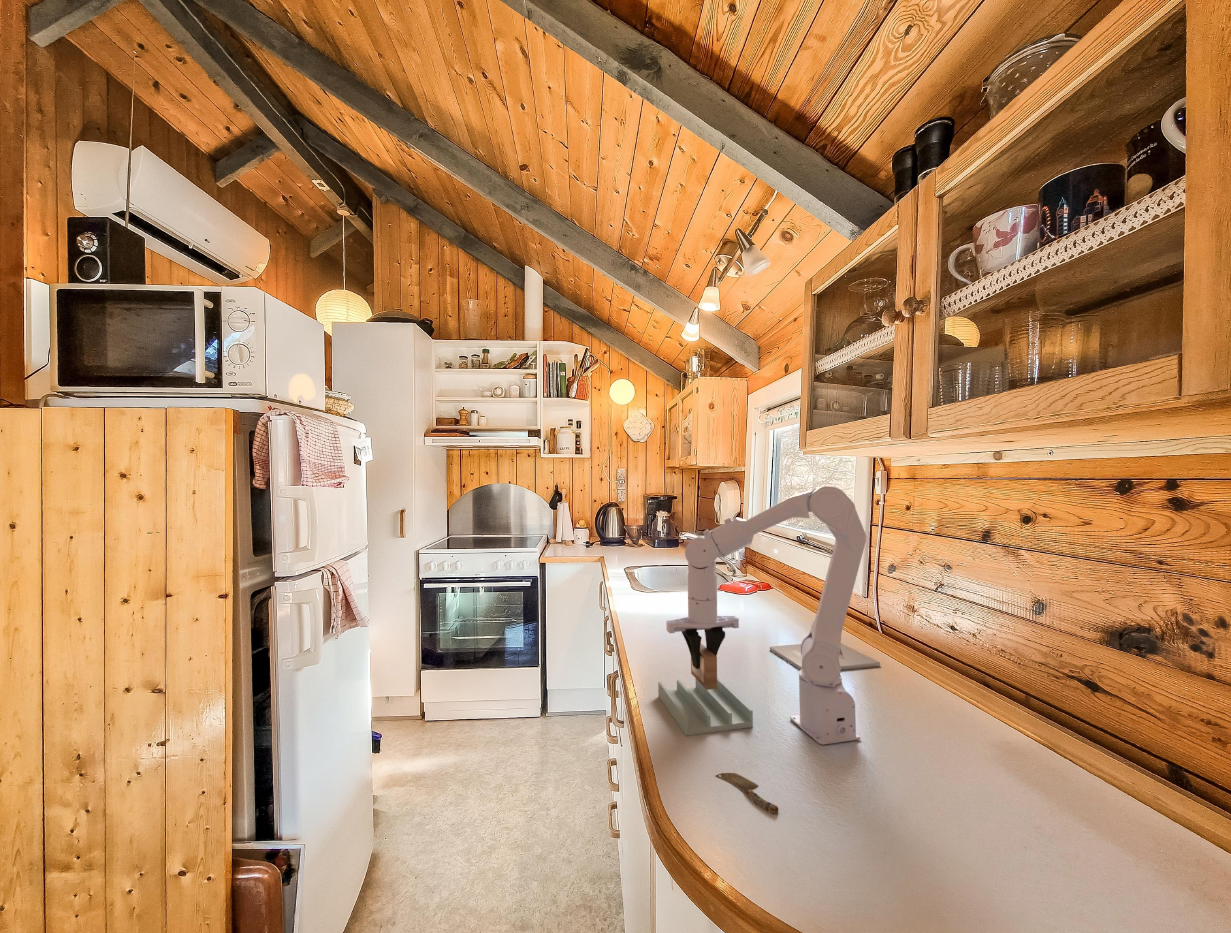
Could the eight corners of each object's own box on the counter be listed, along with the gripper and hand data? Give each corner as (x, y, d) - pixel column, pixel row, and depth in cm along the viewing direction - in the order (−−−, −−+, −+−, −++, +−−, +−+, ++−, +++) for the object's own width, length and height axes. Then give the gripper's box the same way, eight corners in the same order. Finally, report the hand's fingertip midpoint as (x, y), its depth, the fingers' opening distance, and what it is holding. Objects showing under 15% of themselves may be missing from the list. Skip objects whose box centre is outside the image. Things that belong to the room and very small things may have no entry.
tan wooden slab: (717, 688, 92) (716, 656, 92) (705, 689, 91) (705, 657, 91) (701, 672, 99) (700, 643, 100) (690, 673, 99) (689, 644, 99)
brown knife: (737, 768, 77) (709, 775, 75) (737, 760, 77) (709, 767, 75) (784, 814, 65) (753, 823, 64) (784, 805, 66) (752, 814, 64)
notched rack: (752, 726, 88) (752, 710, 88) (685, 735, 85) (685, 718, 85) (716, 690, 104) (715, 675, 104) (658, 696, 101) (658, 681, 101)
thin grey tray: (769, 646, 128) (836, 640, 132) (769, 652, 128) (836, 646, 132) (805, 669, 112) (880, 662, 116) (806, 676, 112) (880, 668, 116)
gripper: (727, 590, 101) (728, 656, 101) (661, 594, 98) (662, 662, 98) (743, 598, 94) (744, 668, 94) (672, 603, 91) (673, 675, 91)
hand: (703, 666), depth 95 cm, fingers closed on tan wooden slab, 2 cm apart
